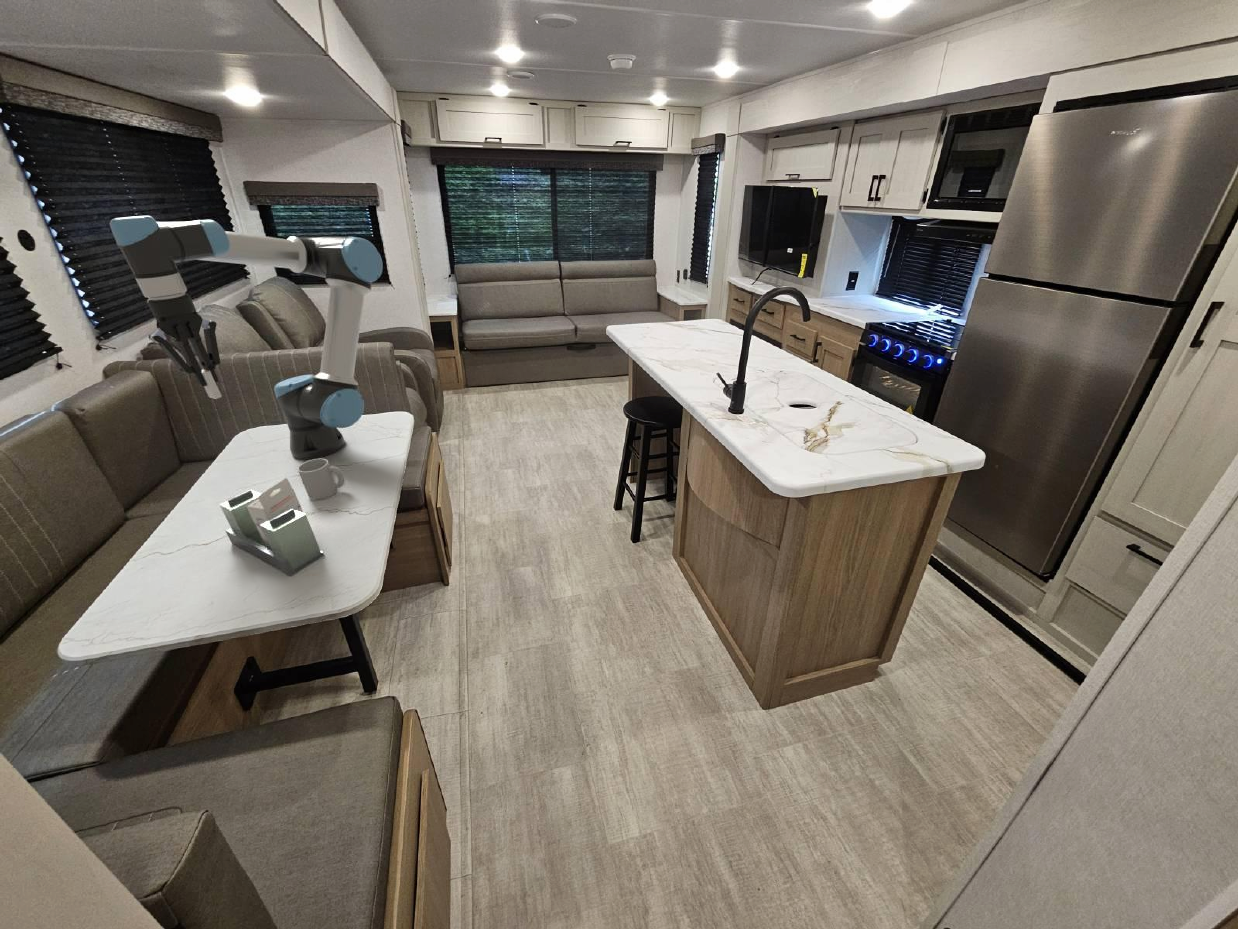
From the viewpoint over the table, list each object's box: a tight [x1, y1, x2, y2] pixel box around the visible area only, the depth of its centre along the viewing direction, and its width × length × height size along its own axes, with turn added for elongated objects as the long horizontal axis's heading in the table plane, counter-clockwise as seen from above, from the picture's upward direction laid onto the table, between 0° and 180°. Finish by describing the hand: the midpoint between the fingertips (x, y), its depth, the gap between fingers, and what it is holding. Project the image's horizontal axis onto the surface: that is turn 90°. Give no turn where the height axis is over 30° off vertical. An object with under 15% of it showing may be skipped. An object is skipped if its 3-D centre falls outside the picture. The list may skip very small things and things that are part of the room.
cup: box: [297, 458, 345, 501], centre depth 140 cm, size 7×10×9 cm
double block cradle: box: [219, 489, 325, 577], centre depth 118 cm, size 8×24×12 cm, turn 59°
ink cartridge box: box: [247, 478, 304, 549], centre depth 119 cm, size 9×5×15 cm, turn 166°
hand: (215, 396), depth 124 cm, fingers closed
